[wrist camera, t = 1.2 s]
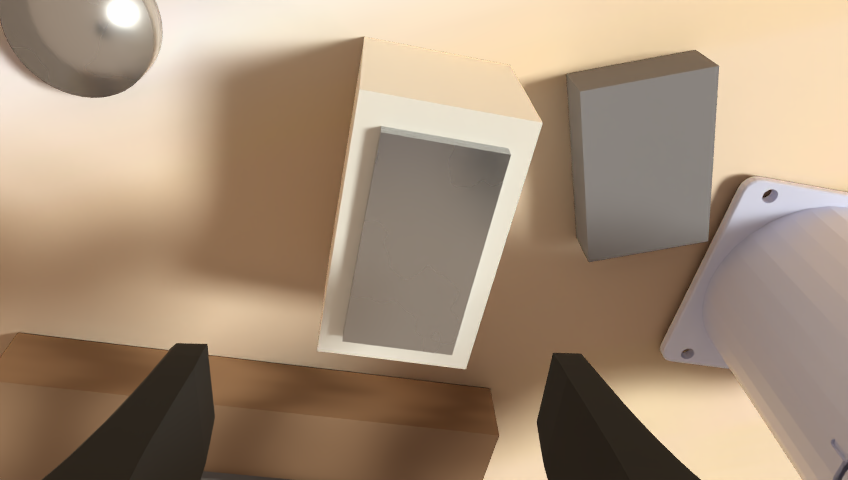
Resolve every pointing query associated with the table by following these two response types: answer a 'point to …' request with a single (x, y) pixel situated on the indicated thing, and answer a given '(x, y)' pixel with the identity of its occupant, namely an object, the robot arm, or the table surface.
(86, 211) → the table surface
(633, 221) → the block
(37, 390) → the stand
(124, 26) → the round metal disc
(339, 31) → the table surface
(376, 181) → the housing
